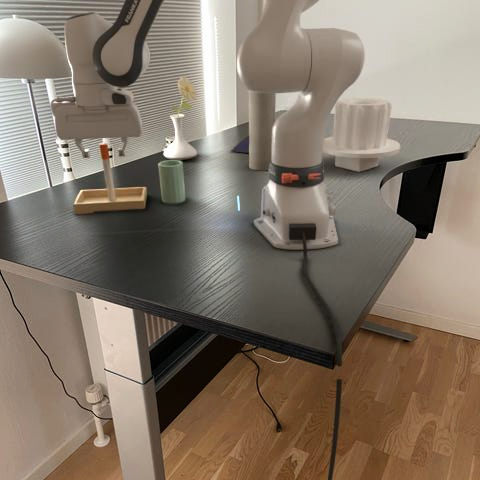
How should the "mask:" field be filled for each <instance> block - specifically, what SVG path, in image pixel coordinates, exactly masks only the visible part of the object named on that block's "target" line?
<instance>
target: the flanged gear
mask: <svg viewBox="0 0 480 480" xmlns="http://www.w3.org/2000/svg"><path fill="white" fill-rule="evenodd" d="M392 107H393V106H392V103H391V102H390V101H389V100H386V99H381V98H372V97H371V98H369V97H353V98H352V97H351V98H343V99H340V100H337V102H336V104H335V105H334V115H333V116H334V117H333V127H332V136H329V137H324V143H323V153H324V154H328V155H331V156H335V158H334V167H337V168H341V169H346V170H349V171H354V172H359V173H360V172H364V171H367V170H370V169H373V168H376V167H378V166H379V161H380V158H386V157H390V156H391V157H392V156H394V155H397V154H398V153H399V152H400V151H401V143H400V142H398V141H396V140H394V139H391V138H388V136H389V135H388V134H389V128H390V122H391V114H392Z"/></svg>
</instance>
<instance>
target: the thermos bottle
mask: <svg viewBox="0 0 480 480" xmlns="http://www.w3.org/2000/svg"><path fill="white" fill-rule="evenodd" d="M276 95H277V93H273V94H270V93H263V92H257V91H252V90H248V136H249V153H248V168H249V169H250V170H254V171H269V162H270V161H271V150H272V127H273V125H274V123H275V121H276Z"/></svg>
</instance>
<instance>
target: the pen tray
mask: <svg viewBox="0 0 480 480" xmlns="http://www.w3.org/2000/svg"><path fill="white" fill-rule="evenodd" d="M114 191H115V197H116V201H110V202H109V198H108V192H107V188H97V189H80V191H78V192H79V193H78V194H77V196H76V198H75V200H74V201H73V203H72V207H73V211H74V215H86V214H94V212H104V211H105V212H106V211H122V210H123V211H125V210H142V209H143V210H144V209H146V203H147V198H148V191H147V186H135V187H117V188H115V187H114Z"/></svg>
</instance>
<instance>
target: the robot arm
mask: <svg viewBox="0 0 480 480" xmlns="http://www.w3.org/2000/svg"><path fill="white" fill-rule="evenodd" d="M165 1H166V0H124V3H123V5H122V7H121V9H120V11H119V14H118V16H117V18H116V19H115V21H114V23H112V22H111V21H109V20H107V19H105V18H104V17H102V16H101V15H100V14H99V13H97V12H95V11H91V12H90V11H87V12H83V13H78V14H75V15H71V16H70V17H68V18H67V19H66V21H65V22H64V27H63V29H64V44H65V51H66V56H67V57H66V58H67V61H68V64H69V67H70V69H71V75H72V76H71V84H72V90H73V94H74V96H72V95H71V96H63V97H61V96H56V97H55V98H54V99H52V100H51V102H50V111H51V114H52V116H53V117H54V128H55V132H56V133H55V134H56V136H57V138H58V139H59V140H61V141H71V140H72V141H73V140H74V143H75V146H76V147H77V148H78V149H79V151H80V152H81V155H82V159H90V157H91V154H90V149H88V148H87V149H86V147H84V145H83V144H82V143H83V140H95V139H117V138H118V139H121V143H123V144H122V147H118V149H117V150H118V157H119V158H121V157H126V155H127V154H126V147H127V145H128V141H129V138H139V137H141V136H142V135H143V133H144V128H143V122H142V121H143V120H142V117H141V113H140V111H139V108H138V105H136V104H135V103H134V99H135V98H134V94H133V91H131V90H127V89H124V88H125V87H126V88H127V87H129V86H131V85H133V84H134V83H135V82H136V81H137V80H138V78H140V77H141V76H142V75H144V74H145V72H146V71H147V70H148V68H149V67H150V64H151V60H152V58H151V57H152V55H151V49H150V46H149V44H148V42H147V41H146V39H147V37H148V35H149V33H150V30H151V29H152V28H153V27H152V26H153V24H154V23H155V20H156V18H157V16H158V14H159V12H160V9H161V8H162V6H163V4H164V2H165ZM319 1H320V0H265V3H264V8H263V11H262V14H261V16H260V18H259V20H258V22H257V23H256V24H255V26H254V27H253V29H252V30H251V31H250V32H249V33H248V34H247V35H246V36H245V37H244V39H243V40H242V42H241V43H240V45H239V48H238V51H237V55H236V70H237V75H238V77H239V80H240V81H241V83H242V84H243V86H244V87H245V88H246V89H247V90H248V91H249V90H252V91H257V92H263V93H270V94H273V93H276V94H291V93H298V94H297V99H296V100H295V102H294V104H293V105H292V107H291V108H289V109H288V110H287V111H284V112H283V113H282V114H280V115H279V116H278V117H277V118H276V119H275V123H274V125H273V127H272V150H271V161H270V162H269V170H268V178H269V180H268V181H267V183H266V184H265V185H264V186H263V188H262V189H261V205H260V217H257V218H255V219H253V226H254V227H255V228H256V229H257V230H258V231H259V233H261V234H262V236H263V237H265V239H266V240H267V241H268V242H269V243H270V245H272V246H273V247H274V248H276V249H281V250H290V251H291V250H293V251H295V250H296V251H299V250H300V251H301V250H303V264H302V272H303V273H302V274H303V276H304V279H305V280H306V282H307V284H308V286H309V288H310V289H311V290H312V292H313V294H314V296H315V297H316V299H317V300H318V302H319V303H320V304H321V306H322V307H323V308H324V310H325V312H326V314H327V316H328V318H329V320H330V323H331V326H332V329H333V333H334V338H335V341H336V366H337V367H339V368H340V367H342V366H343V345H342V339H341V334H340V329H339V326H338V323H337V321H336V318H335V316H334V313H333V312H332V310H331V308H330V307H329V305H328V303H327V302H326V301H325V299H324V298H323V297H322V295H321V294H320V292H319V290H318V289H317V288H316V286H315V285H314V283H313V281H312V280H311V278H310V276H309V274H308V250H316V249H317V250H319V249H324V248H329V247H333V246H336V245H338V244H339V237H338V233H337V229H336V223H335V219H334V216H336V205H334V204H329V202H330V201H331V198H332V197H331V194H328V193H327V185H326V182H324V180H325V176H324V175H325V166H324V165H325V164H324V161H323V153H324V152H323V143H324V139H325V135H326V134H325V133H326V129H327V124H328V121H329V118H330V115H331V113H332V111H333V109H334V108H335V105H336V103H337V102H338V101H339V99H340V98H341V96H342V95H343V94H344V93H345V92H346V91H347V90H348V89H349V88H350V87H351V86H352V85H354V83H355V82H357V80H358V79H359V77H360V76H361V74H362V72H363V69H364V64H365V59H366V58H365V56H366V55H365V48H364V44H363V42H362V39H361V37H360V36H359V35H358V34H357V33H356V32H354V31H353V32H352V31H348V30H346V29H341V28H335V27H327V28H324V27H323V28H322V27H321V28H304V27H303V28H302V27H301V16H302V15H301V14H303V13H304V12H306V11H307V10H309V9H311V8H312V7H313V6H315V5H316V4H317V3H318V2H319ZM236 198H237V211H239V212H240V211H241V210H240V208H241V207H240V206H241V205H240V196H239V195H237V197H236ZM342 384H343V379H342V378H340V379H336V389H335V405H334V417H333V418H334V419H333V430H332V441H331V449H330V450H331V451H330V457H329V458H330V459H329V466H328V473H327V480H333V477H334V470H335V463H336V456H337V446H338V439H339V438H338V437H339V428H340V414H341V403H342V386H343V385H342Z"/></svg>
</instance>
